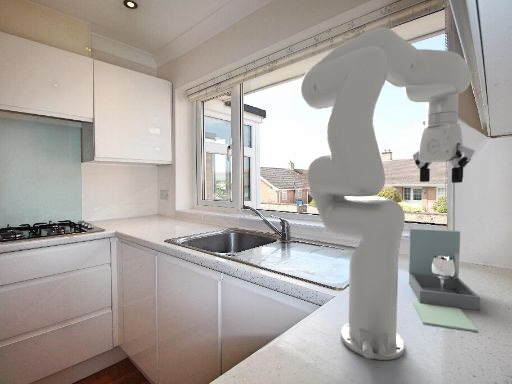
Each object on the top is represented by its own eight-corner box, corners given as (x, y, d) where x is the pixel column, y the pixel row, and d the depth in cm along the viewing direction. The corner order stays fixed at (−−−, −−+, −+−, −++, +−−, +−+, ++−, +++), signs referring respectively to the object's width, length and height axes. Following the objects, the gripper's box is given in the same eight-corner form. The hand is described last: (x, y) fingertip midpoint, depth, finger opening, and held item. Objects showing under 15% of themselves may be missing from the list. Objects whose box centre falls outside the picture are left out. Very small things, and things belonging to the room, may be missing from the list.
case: (479, 310, 73) (482, 242, 72) (419, 302, 78) (421, 238, 77) (456, 287, 88) (458, 230, 87) (408, 282, 93) (409, 228, 92)
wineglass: (427, 297, 81) (429, 257, 80) (432, 291, 85) (434, 253, 84) (451, 303, 77) (452, 261, 76) (455, 297, 81) (456, 257, 80)
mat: (477, 331, 63) (477, 330, 63) (423, 323, 66) (423, 322, 66) (459, 309, 73) (459, 308, 73) (413, 303, 77) (413, 302, 77)
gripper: (405, 126, 84) (404, 181, 85) (463, 114, 67) (461, 183, 68) (423, 127, 86) (423, 181, 87) (484, 115, 69) (482, 182, 71)
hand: (439, 182), depth 78 cm, fingers open, 9 cm apart
